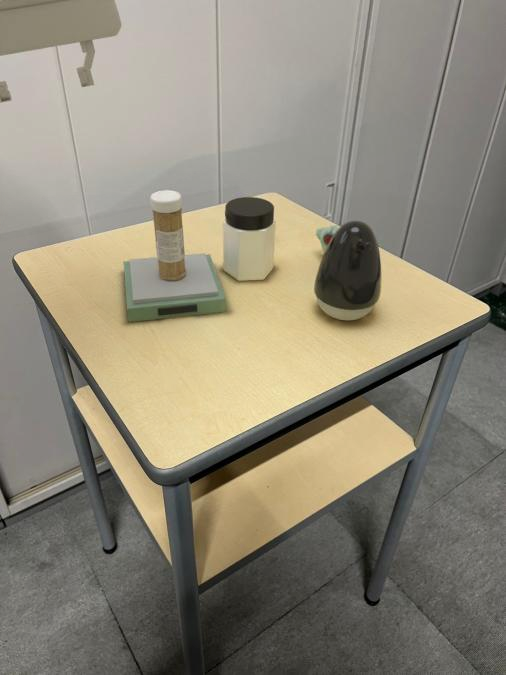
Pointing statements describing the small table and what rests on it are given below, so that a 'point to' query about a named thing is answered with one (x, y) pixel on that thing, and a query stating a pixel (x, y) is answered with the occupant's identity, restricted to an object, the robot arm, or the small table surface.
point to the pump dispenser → (349, 273)
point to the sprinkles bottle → (169, 234)
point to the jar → (248, 238)
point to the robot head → (326, 235)
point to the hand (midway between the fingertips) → (47, 92)
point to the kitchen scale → (172, 289)
